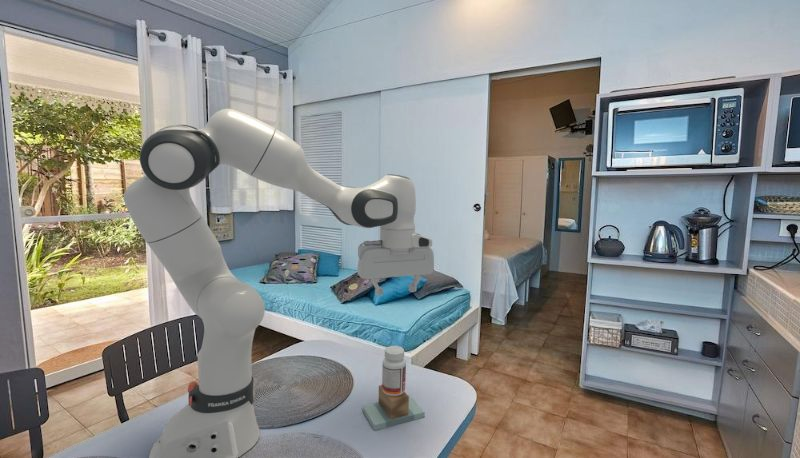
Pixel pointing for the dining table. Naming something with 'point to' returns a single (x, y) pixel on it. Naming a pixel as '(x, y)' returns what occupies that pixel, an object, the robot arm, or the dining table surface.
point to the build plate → (382, 420)
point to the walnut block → (394, 404)
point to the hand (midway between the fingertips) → (396, 293)
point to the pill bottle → (394, 371)
